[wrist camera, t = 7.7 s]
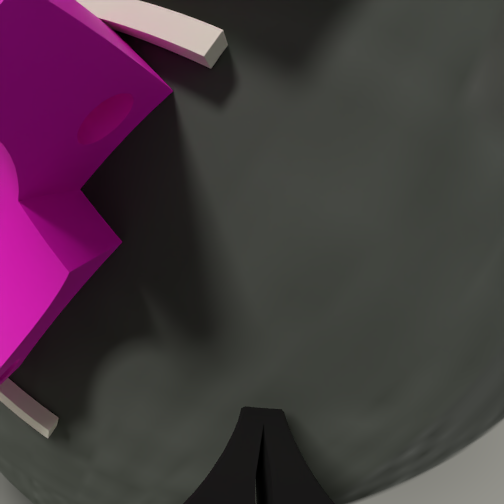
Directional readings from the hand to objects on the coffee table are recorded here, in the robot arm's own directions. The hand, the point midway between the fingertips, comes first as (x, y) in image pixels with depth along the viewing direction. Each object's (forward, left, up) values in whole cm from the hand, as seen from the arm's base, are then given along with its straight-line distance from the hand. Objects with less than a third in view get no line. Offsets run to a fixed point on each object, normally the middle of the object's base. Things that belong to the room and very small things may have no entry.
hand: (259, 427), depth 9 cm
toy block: (+11, -1, -2) cm, 11 cm away
